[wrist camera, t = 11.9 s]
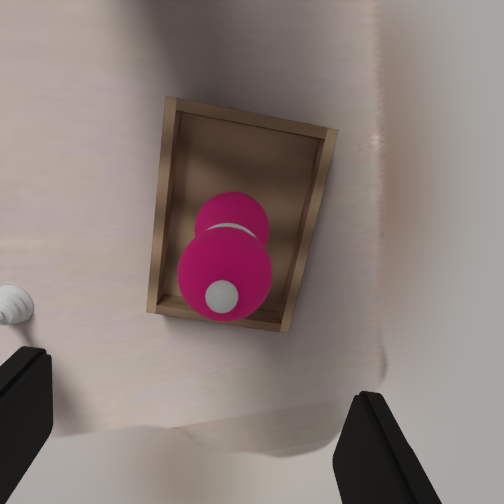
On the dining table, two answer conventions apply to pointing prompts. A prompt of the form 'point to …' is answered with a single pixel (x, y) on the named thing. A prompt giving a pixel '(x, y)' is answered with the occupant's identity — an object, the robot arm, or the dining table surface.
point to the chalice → (14, 305)
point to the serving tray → (237, 180)
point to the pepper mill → (227, 259)
